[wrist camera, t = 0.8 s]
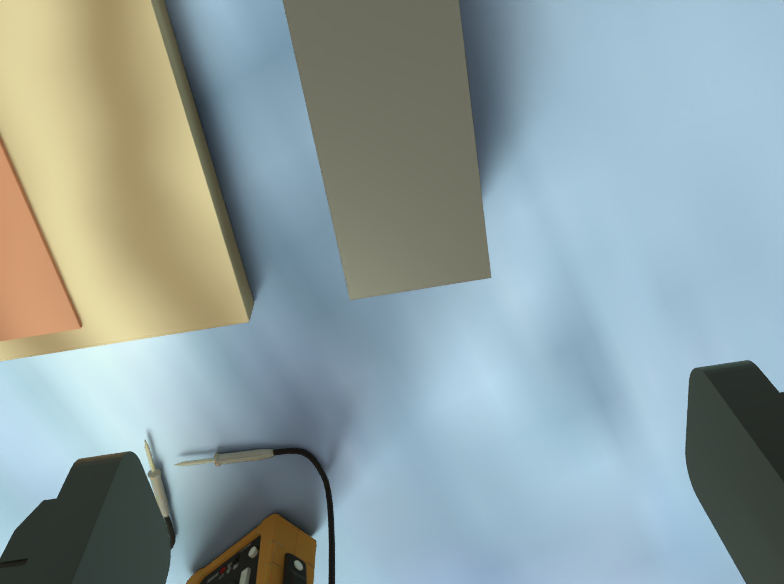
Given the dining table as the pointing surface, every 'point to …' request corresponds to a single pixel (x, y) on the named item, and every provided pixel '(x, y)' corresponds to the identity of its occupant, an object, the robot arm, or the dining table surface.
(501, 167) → the dining table surface
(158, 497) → the multimeter
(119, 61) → the board
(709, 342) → the dining table surface
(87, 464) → the robot arm
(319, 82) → the block
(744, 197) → the dining table surface
